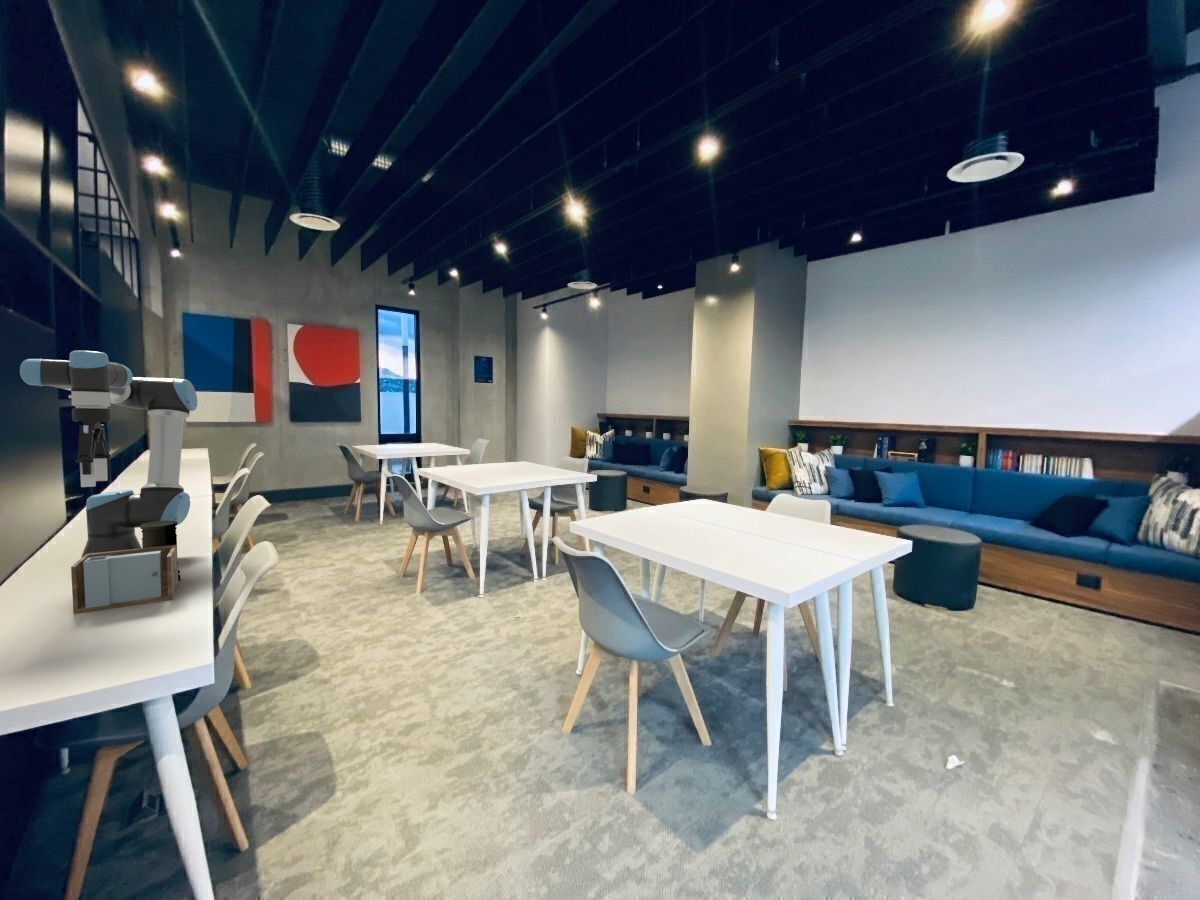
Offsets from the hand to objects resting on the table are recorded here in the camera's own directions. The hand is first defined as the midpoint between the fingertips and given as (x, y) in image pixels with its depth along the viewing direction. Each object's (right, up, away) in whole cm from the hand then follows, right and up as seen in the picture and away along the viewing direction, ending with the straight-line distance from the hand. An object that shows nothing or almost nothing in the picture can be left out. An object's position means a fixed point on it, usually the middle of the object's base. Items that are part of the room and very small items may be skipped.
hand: (95, 483), depth 140 cm
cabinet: (+13, -31, -3) cm, 34 cm away
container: (+10, -31, +10) cm, 34 cm away
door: (+15, -31, -7) cm, 35 cm away
